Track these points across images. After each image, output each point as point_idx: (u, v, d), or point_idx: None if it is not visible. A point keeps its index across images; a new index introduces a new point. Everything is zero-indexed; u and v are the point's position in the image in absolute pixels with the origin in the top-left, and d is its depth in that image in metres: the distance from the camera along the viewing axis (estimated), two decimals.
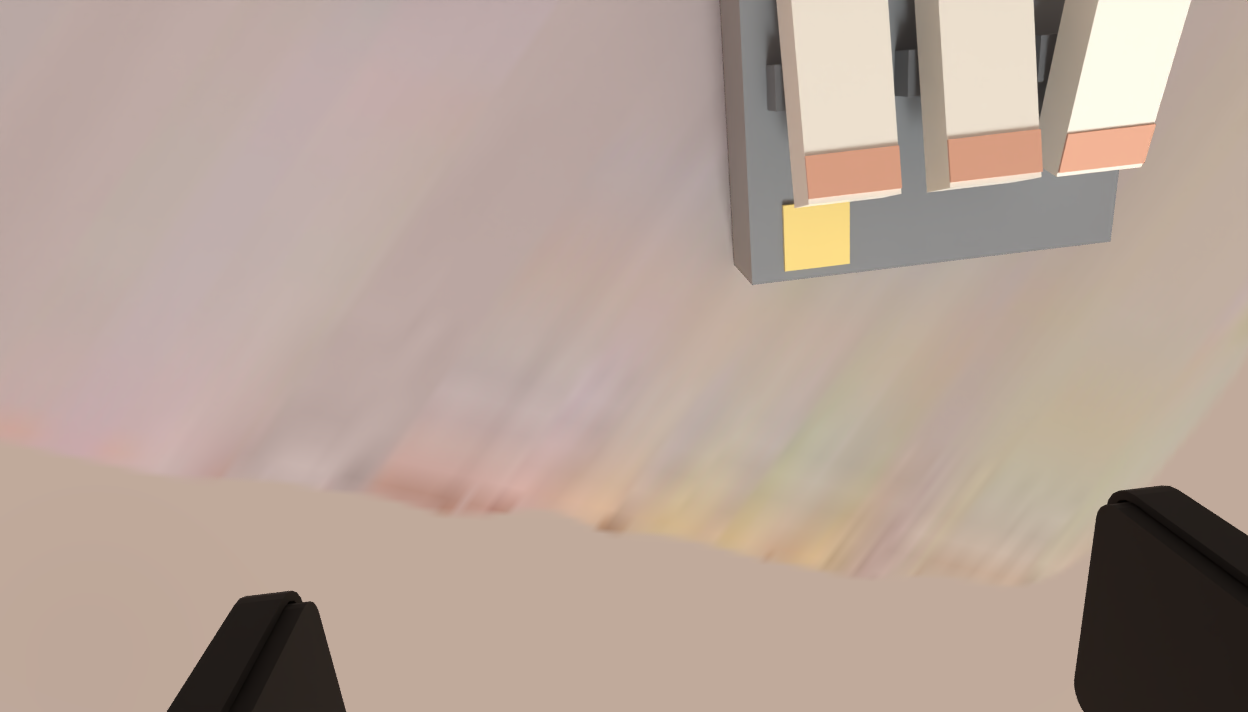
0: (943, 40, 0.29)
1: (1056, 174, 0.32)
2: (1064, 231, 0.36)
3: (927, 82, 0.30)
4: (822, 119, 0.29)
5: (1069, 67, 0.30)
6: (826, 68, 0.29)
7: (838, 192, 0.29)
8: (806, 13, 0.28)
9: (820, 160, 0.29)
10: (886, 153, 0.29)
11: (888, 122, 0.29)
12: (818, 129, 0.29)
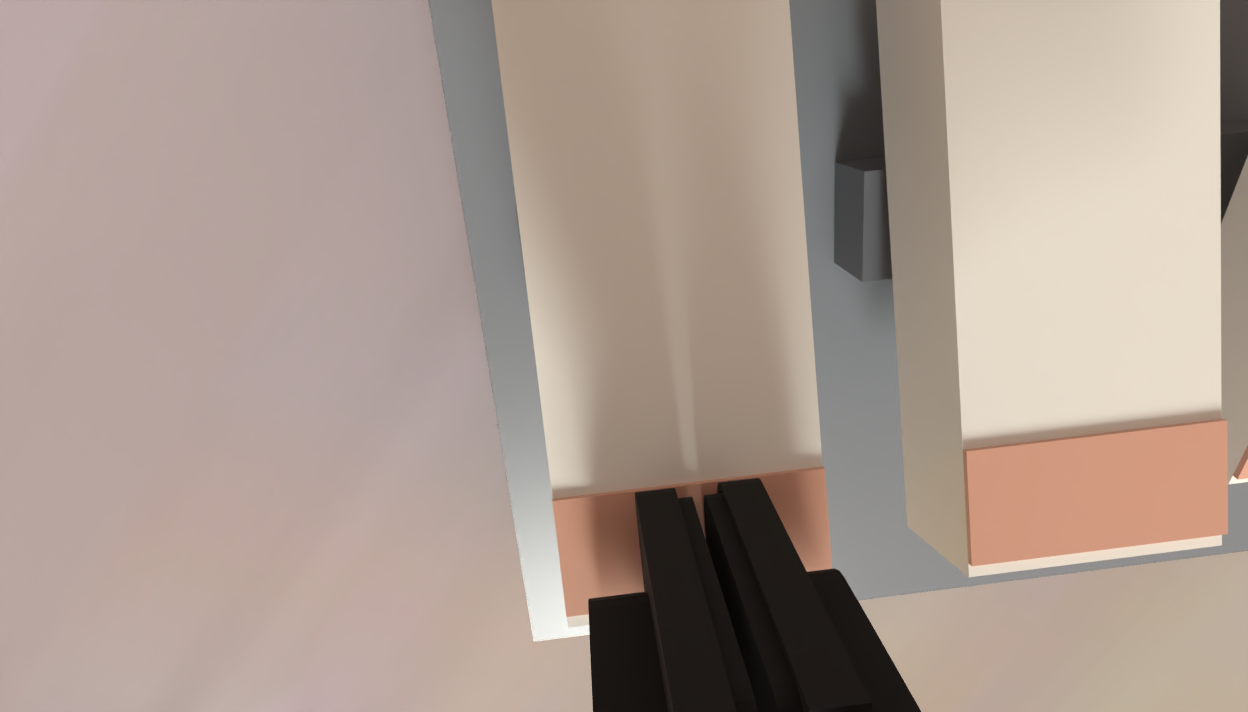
0: (956, 172, 0.10)
1: (1228, 478, 0.13)
2: None
3: (910, 267, 0.11)
4: (600, 396, 0.10)
5: None
6: (609, 251, 0.10)
7: None
8: (545, 91, 0.09)
9: (599, 508, 0.10)
10: (788, 490, 0.10)
11: (795, 403, 0.10)
12: (590, 424, 0.10)
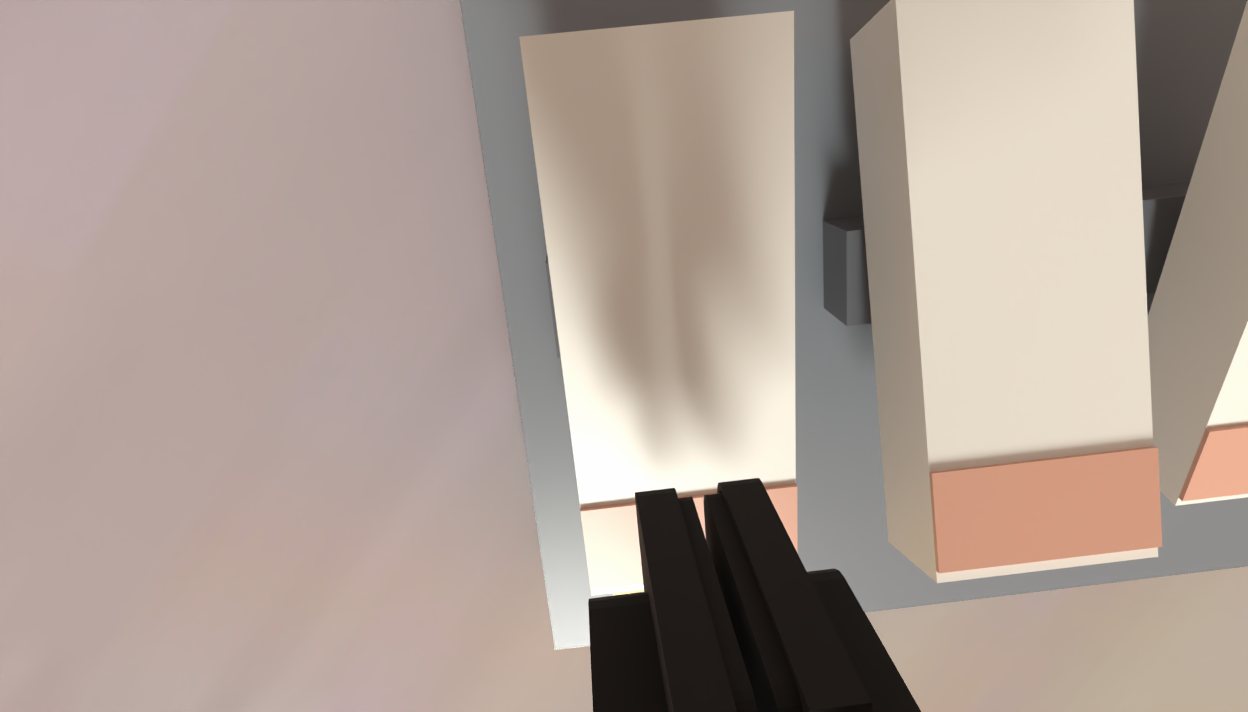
0: (918, 237, 0.12)
1: (1174, 500, 0.14)
2: (1168, 550, 0.18)
3: (885, 315, 0.13)
4: (620, 434, 0.12)
5: (1216, 288, 0.13)
6: (630, 323, 0.11)
7: None
8: (576, 194, 0.11)
9: (617, 514, 0.13)
10: None
11: (776, 437, 0.12)
12: (610, 455, 0.12)
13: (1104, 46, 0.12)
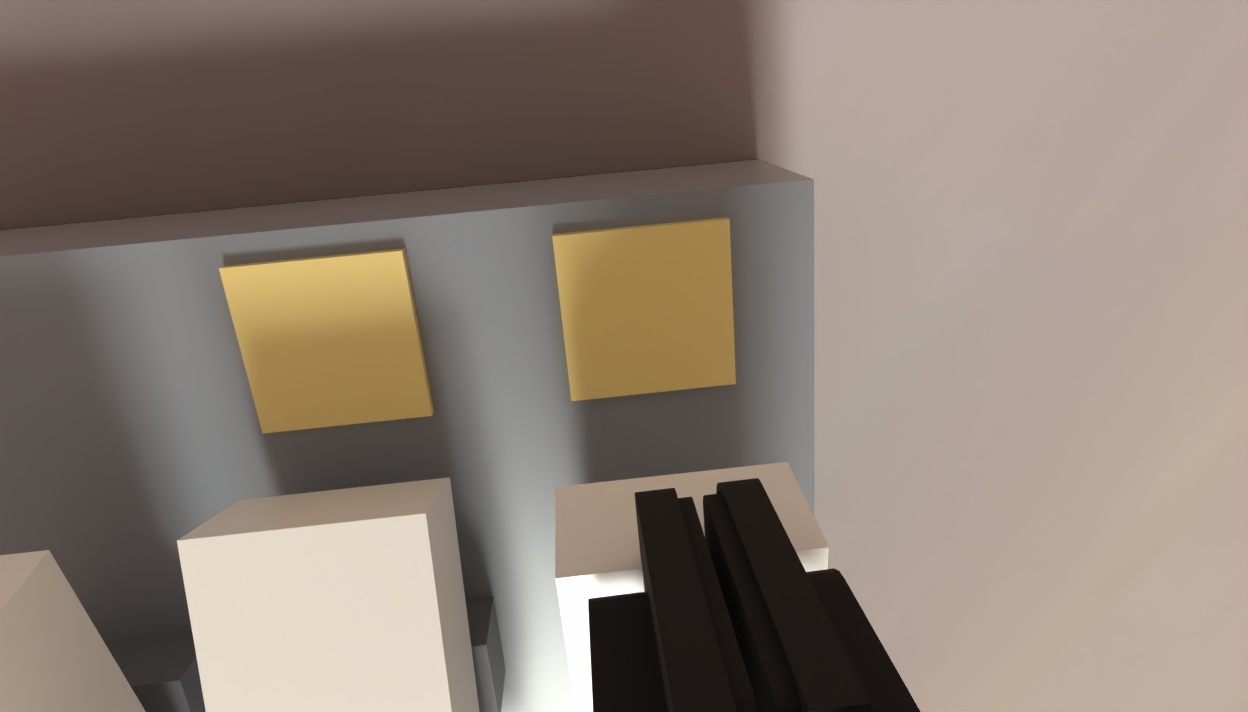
0: None
1: None
2: None
3: None
4: None
5: None
6: None
7: None
8: None
9: None
10: None
11: None
12: None
13: (402, 583, 0.11)
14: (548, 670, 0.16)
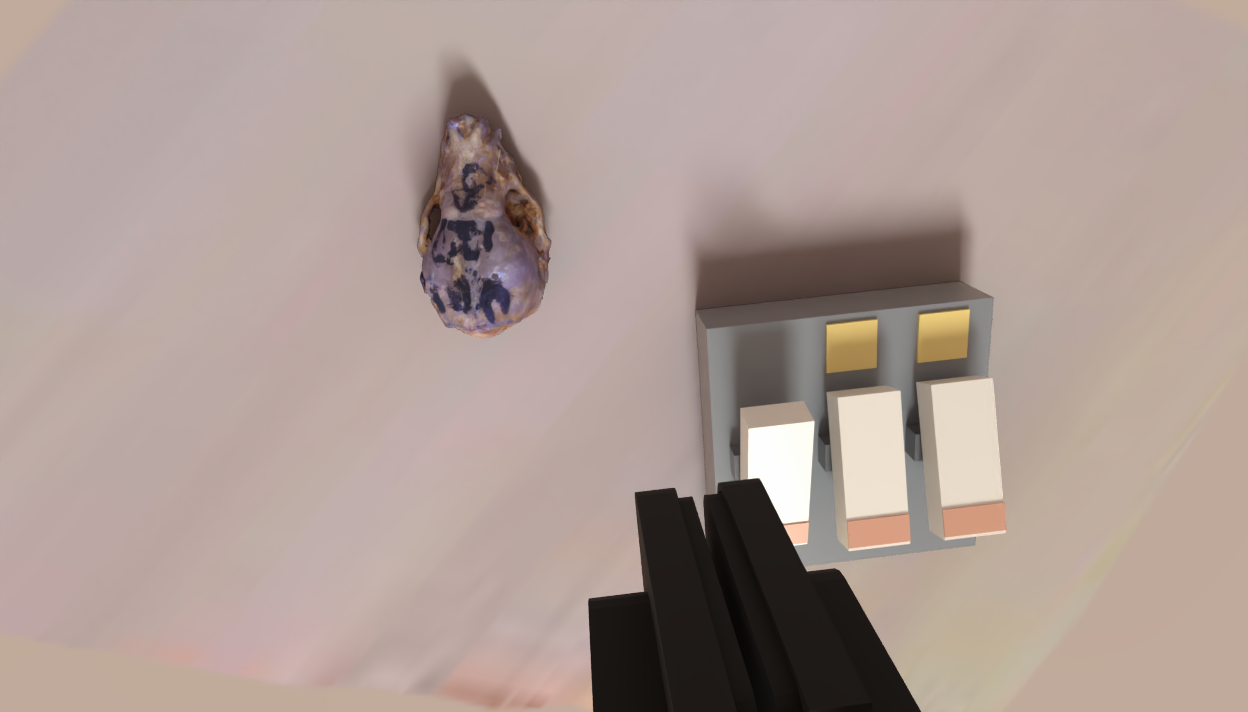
0: (843, 458, 0.43)
1: (944, 538, 0.44)
2: (941, 539, 0.50)
3: (836, 474, 0.45)
4: None
5: (932, 466, 0.44)
6: (767, 485, 0.43)
7: None
8: (757, 458, 0.42)
9: None
10: (800, 526, 0.45)
11: (803, 510, 0.44)
12: None
13: (893, 409, 0.43)
14: None
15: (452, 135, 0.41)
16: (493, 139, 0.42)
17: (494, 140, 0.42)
